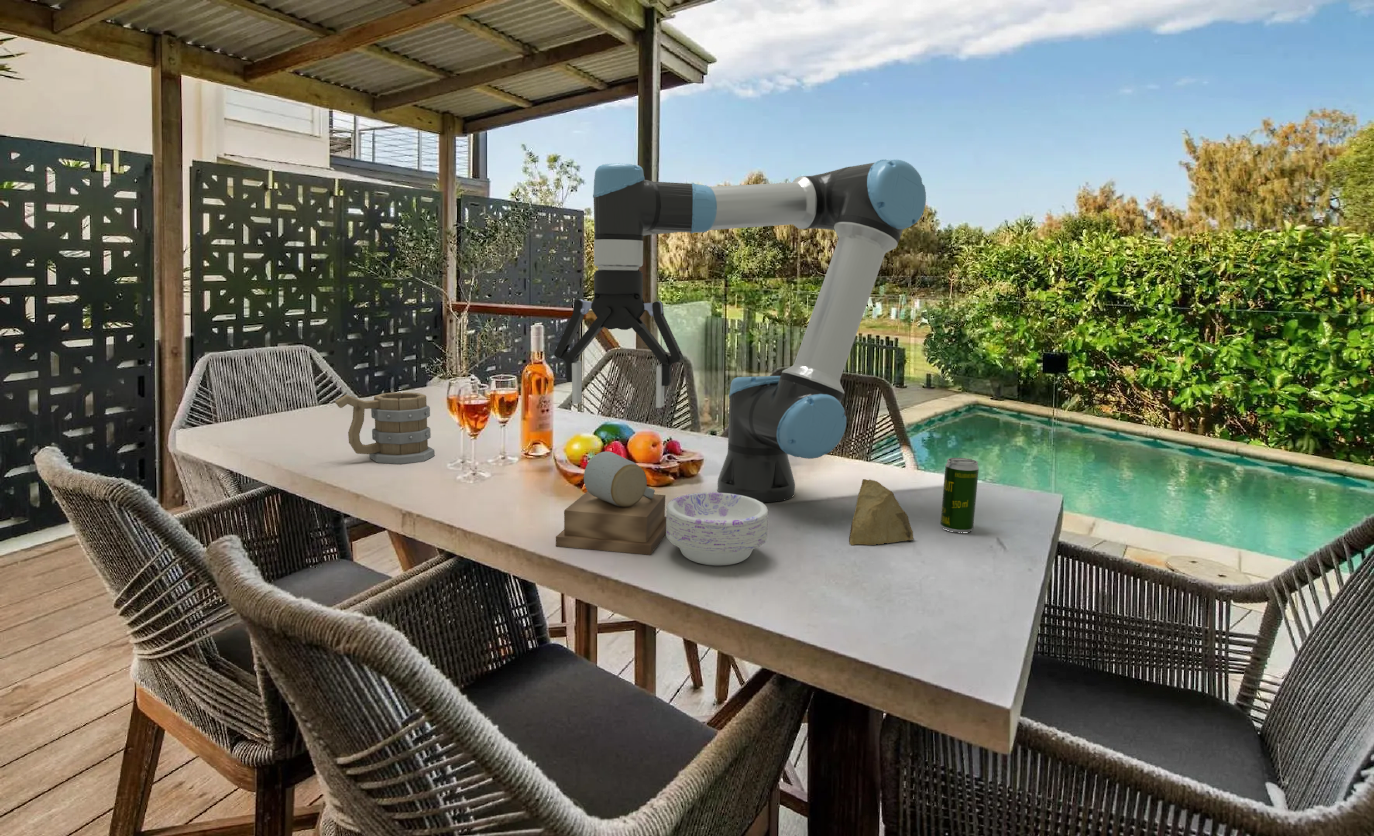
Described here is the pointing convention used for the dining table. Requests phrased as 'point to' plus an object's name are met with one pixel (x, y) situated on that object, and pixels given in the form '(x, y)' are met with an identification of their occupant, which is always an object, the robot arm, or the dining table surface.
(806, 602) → the dining table surface
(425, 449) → the tankard
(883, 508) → the rock
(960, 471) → the beer can
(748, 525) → the paper bowls
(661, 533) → the walnut riser
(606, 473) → the ceramic mug
